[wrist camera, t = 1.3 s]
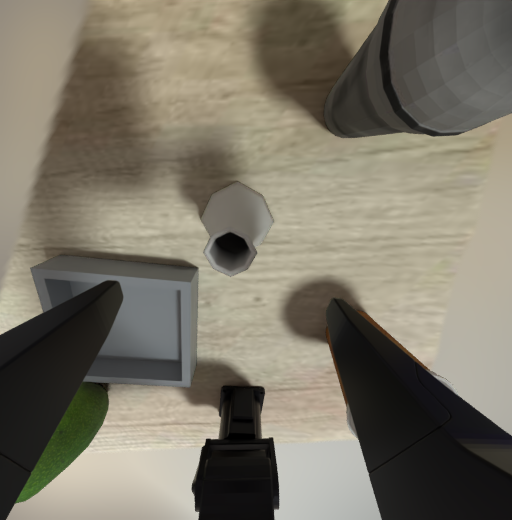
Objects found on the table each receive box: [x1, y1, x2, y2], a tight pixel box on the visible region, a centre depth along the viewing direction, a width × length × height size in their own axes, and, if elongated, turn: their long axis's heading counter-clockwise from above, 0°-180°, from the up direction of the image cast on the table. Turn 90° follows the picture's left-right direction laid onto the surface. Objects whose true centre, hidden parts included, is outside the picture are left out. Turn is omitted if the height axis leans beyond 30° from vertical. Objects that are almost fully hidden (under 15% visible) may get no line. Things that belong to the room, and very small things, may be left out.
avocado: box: [15, 382, 109, 503], centre depth 26 cm, size 8×8×12 cm
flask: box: [201, 182, 274, 277], centre depth 18 cm, size 7×7×10 cm
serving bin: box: [30, 255, 198, 387], centre depth 25 cm, size 15×15×4 cm
